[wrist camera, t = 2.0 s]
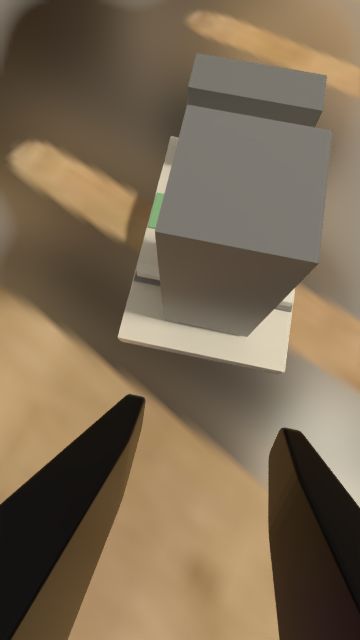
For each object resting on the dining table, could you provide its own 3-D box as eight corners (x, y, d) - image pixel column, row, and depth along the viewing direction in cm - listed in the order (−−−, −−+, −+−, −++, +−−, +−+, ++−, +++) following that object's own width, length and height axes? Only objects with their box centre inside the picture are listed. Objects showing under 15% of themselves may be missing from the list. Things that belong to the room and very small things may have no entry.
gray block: (282, 344, 19) (389, 277, 10) (129, 312, 20) (87, 218, 10) (292, 267, 21) (394, 141, 11) (148, 239, 21) (127, 93, 11)
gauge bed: (278, 374, 20) (332, 355, 14) (120, 341, 21) (94, 306, 14) (303, 173, 24) (355, 79, 18) (171, 149, 25) (169, 46, 18)
